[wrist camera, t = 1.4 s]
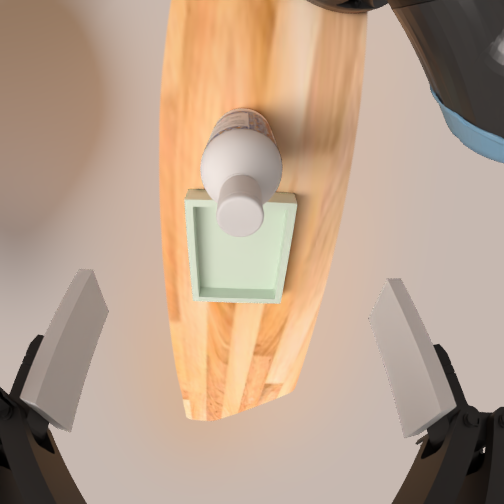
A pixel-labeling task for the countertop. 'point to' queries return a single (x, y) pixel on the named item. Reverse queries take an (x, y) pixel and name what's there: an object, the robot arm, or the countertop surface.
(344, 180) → the countertop surface
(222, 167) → the bath foam
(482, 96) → the robot arm
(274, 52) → the countertop surface
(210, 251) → the tray
